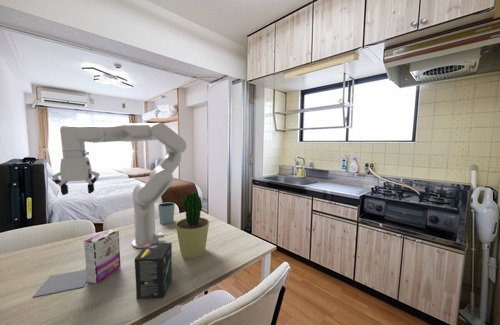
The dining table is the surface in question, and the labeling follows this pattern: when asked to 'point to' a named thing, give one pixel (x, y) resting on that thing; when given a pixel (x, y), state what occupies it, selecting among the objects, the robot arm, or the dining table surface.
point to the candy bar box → (102, 255)
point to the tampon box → (153, 270)
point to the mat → (63, 283)
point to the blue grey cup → (166, 212)
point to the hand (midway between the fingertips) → (78, 193)
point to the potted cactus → (192, 228)
